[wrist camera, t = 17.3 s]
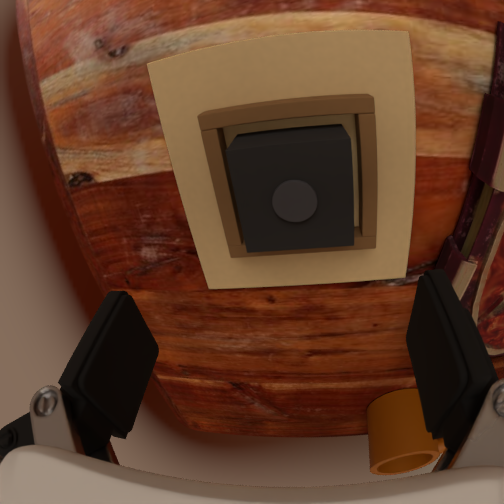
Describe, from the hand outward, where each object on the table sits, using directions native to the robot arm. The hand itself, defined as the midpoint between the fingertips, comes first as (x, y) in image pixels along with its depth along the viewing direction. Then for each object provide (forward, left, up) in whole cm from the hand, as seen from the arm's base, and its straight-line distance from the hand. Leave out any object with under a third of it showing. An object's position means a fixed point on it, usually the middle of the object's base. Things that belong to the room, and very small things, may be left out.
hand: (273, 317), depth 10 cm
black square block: (+1, 0, -12) cm, 12 cm away
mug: (+14, -32, -13) cm, 37 cm away
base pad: (+1, 0, -13) cm, 13 cm away
